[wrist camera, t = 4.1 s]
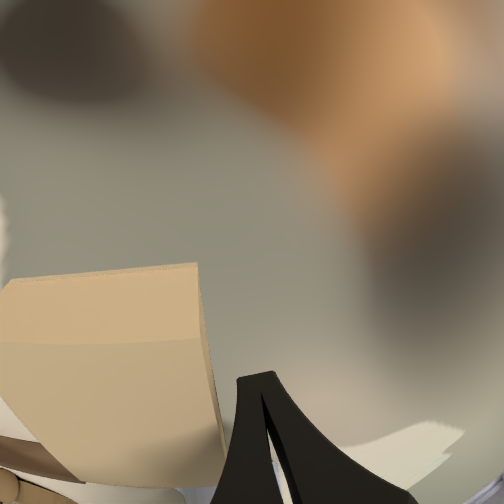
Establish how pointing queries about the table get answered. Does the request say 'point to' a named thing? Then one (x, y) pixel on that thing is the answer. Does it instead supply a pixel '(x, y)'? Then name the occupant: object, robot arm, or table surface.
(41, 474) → the frame
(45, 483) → the table surface
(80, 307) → the small carton
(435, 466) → the table surface
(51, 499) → the alarm clock
